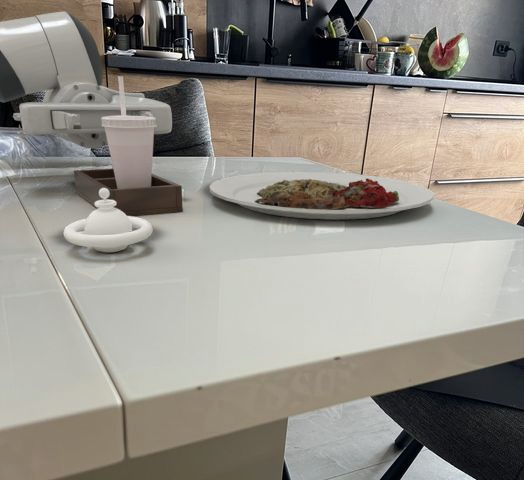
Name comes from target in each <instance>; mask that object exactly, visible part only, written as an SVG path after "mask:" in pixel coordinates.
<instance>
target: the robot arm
mask: <svg viewBox="0 0 524 480" xmlns="http://www.w3.org/2000/svg"><path fill="white" fill-rule="evenodd" d="M103 80H104V69H103V64H102V59H101V55H100V51H99V48H98V46H97V43H96V41H95V39H94V36H93V34H92V33H91V31H90V30H89V28H88V27H87V26H85V24H84V23H83V22H81V20H79V19H78V18H77V17H76V16H75V15H74V14H72V13H70V12H68V11H67V10H64V11H56V12H55V11H54V12H49V13H42V14H36V15H34V16H29V17H22V18H16V19H9V20H2V21H0V102H1V103H7V102H10V101H14V100H17V99H19V98H23V97H25V96H26V95H31V94H36V93H40V92H45V95H44V97H43V100H42V101H38V102H37V101H32V102H22V103H20V104H19V106H18V108H19V112H14V113H13V115H12V118H13V119H14V120H15V121H18V122H19V121H20V122H21V127H22V131H23V133H25V134H26V135H37V136H39V135H43V136H44V135H57V136H58V137H60V138H62V139H63V140H66V141H68V142H71V143H73V144H74V145H77V146H79V147H83V148H86V149H99V148H102V147H105V146H108V142H107V137H106V132H105V127H102V120H101V118H102V117H107V116H119V115H121V105H120V93H119V89H112V88H109V87H106V86H104V85H103ZM124 94H125V107H126V115H127V116H146V117H154V118H156V125H157V127H154V135H163V134H169V133H171V132H172V129H173V113H172V108H171V105H170V104H168V103H166V102H162V101H160V100H156V99H152V98H147V97H145V93H142V92H135V91H125V90H124Z"/></svg>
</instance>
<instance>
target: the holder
mask: <svg viewBox="0 0 524 480" xmlns="http://www.w3.org/2000/svg"><path fill="white" fill-rule="evenodd" d="M73 176H74V185H75V193H76V194H77V196H79V197H81V198H82V199H84V200H85V201H86V202H87V203H89V204H90V205H91V206H93V207H94V208H95V209H98V208H99V207H96V206H95V205H94V203H95V202H96V201H98V200H104V199H103V198H101V197H100V196H99V190H100V189H101V188H106V189H108V190H109V192H110V195H109V197H108V198H106V200H114V201H116V203H117V204H116V206H114V208H117V209H119V210H121V211H122V212H123V213H125V214H126V215H127V216H132V217H137V216H147V215H158V214H169V213H181V212H183V211H184V208H183V187H182V185H181V184H178V183H175V182H173V181H170V180H168V179H167V178H164V177H161V176H159V175H156V174H154V173H152V177H151V187H138V188H122V189H118V188H117V183H116V179H115V174H114V169H113V168H94V169H93V168H92V169H76V170H75V169H74V170H73Z"/></svg>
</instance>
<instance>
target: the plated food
mask: <svg viewBox="0 0 524 480" xmlns="http://www.w3.org/2000/svg"><path fill="white" fill-rule="evenodd" d="M208 187H209V192H210V193H211V194H212V195H213V196H215V197H216V198H219V199H222V200H224V201H227V202H231V203H234V204H237V205H239V206H240V207H242V208H245V209H248V210H250V211H254V212H259V213H262V214H267V215H272V216H273V215H274V216H278V217H279V216H281V217H289V218H297V219H309V220H359V219H360V220H362V219H373V218H380V217H385V216H386V217H387V216H391V215H395V214H397V213H400V212H402V211H405V210H411V209H416V208H420V207H423V206H426V205H428V204H430V203H431V202H432V201H433V200H434V199H435V195H434V194H435V193H434V192H433V191H432V190H431V189H429V188H428V187H425V186H423V185H420V184H417V183H414V182H410V181H405V180H400V179H396V178H389V177H383V176H375V175H367V174H356V173H345V172H329V171H269V172H254V173H245V174H238V175H232V176H227V177H223V178H220V179H217V180H215V181H213V182H211V183H210V184H209V186H208Z"/></svg>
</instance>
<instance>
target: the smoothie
mask: <svg viewBox="0 0 524 480" xmlns="http://www.w3.org/2000/svg"><path fill="white" fill-rule="evenodd" d="M117 80H118V81H117V82H118V90H119V93H120V105H121V115H119V116H107V117H102V118H101V120H102V127H105V132H106V137H107V142H108V145H107V146H108V150H109V151H108V152H109V155H110V159H111V164H112V169H114V174H115V179H116V183H117V188H118V189H122V188H138V187H151V177H152V174H153V157H154V156H153V155H154V135H155V134H154V127H157V125H156V118H154V117H146V116H127V115H126V107H125V94H124V91H125V82H124V76H122V75H121V76H120V75H119V76H117Z"/></svg>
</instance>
